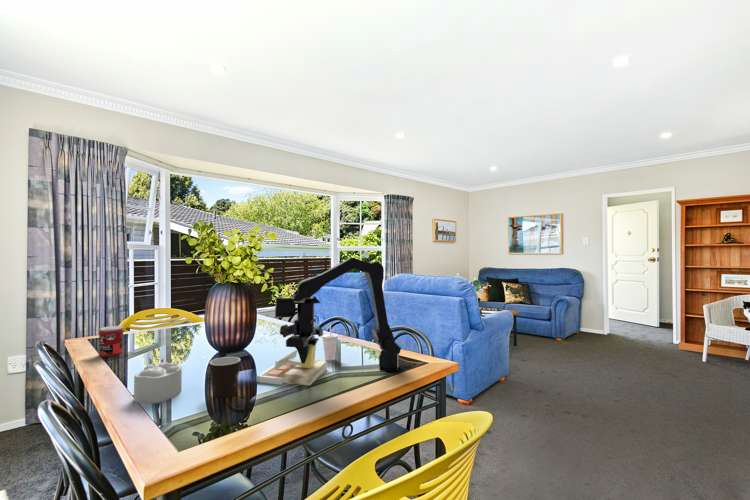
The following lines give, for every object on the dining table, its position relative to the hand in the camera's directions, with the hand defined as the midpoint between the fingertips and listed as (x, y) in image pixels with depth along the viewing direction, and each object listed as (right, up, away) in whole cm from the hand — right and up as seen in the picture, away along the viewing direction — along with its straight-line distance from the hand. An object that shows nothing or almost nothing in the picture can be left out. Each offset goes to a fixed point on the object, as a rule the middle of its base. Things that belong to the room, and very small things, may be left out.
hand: (305, 361), depth 126 cm
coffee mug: (-21, -5, -15) cm, 26 cm away
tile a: (-7, -3, +7) cm, 10 cm away
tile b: (-8, -3, +2) cm, 9 cm away
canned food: (-85, -5, +24) cm, 88 cm away
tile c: (-9, -3, -3) cm, 10 cm away
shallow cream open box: (0, -5, 0) cm, 5 cm away
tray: (-8, -5, +2) cm, 10 cm away
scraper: (-3, -1, +1) cm, 3 cm away
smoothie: (+6, -5, +19) cm, 21 cm away
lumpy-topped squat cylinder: (-40, -5, -17) cm, 44 cm away
